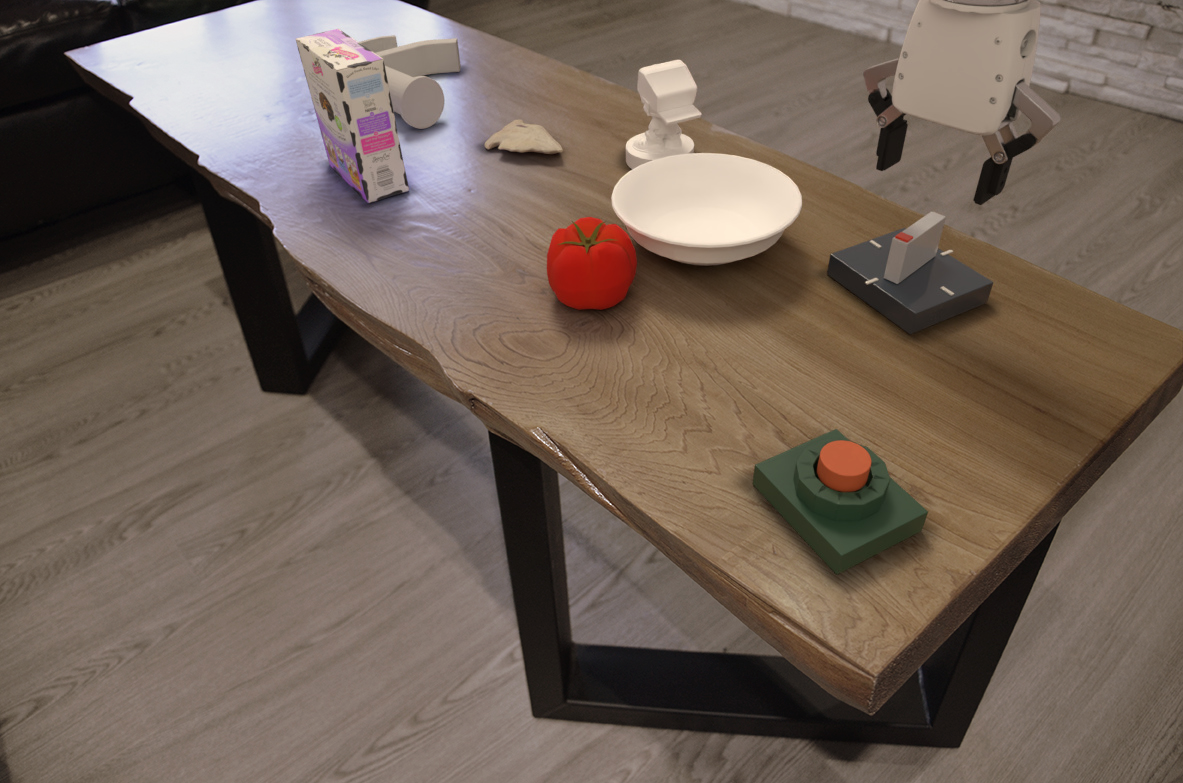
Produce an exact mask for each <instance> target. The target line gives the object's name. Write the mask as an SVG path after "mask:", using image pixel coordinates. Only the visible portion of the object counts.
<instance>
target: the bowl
mask: <svg viewBox="0 0 1183 783" xmlns="http://www.w3.org/2000/svg"><path fill="white" fill-rule="evenodd" d="M611 193H612V194H611V196H610V199H611V200H610V201H611V208H612V209H613V211H614V213H615V215H616V217H617V218H618V219H620V221H621V222H622V223H623V224H624V225H625V227H626V230H627V232H628V235H629V236H630V237H631V238H632V239H633V240H634V241H635V242H636V243H637V244H638V245H639V246H641V247H642V248H644V249H646V250H647V251H649V252H651V253H654V254H656V255H658V256H661V257H664V258H666V259H670V260H672V261H675V262H678V263H680V264H686V265H693V266H719V265H725V264H730V263H733V262H737V261H740V260H744V259H747V258H751V257H754V256H756V255H759V254H761V253H763V252H766V251H767V250H768V249H770V248H771V247H773V246H774V245H775V244H776V243H777V242H778V241H779V240H780V238H781V237H782V236H783V234H784V232H785V229H787V228H788V227H790V226H791V225H793V223H794V222H795V220H796V219H798V217H799V216H800V213H801V211H802V209H803V208H802V207H803V196H802V193H801V192H800V188H799V186H798V185H797V184H796V183H795V182H794V181H793V179H792V178H790V177H789V176H788V175H787V174H785V172H782V171H781V170H780V169H778V168H775V167H774V166H771V165H770V164H768V163H765V162H761V161H759V160H756V159H754V158H748V157H744V156H739V155H733V154H727V153H718V152H717V153H714V152H713V153H712V152H699V153H698V152H696V153H695V152H694V153H692V154H681V155H674V156H668V157H664V158H660V159H656V160H653V161H650V162H647V163H645V164H642V165H640V166H638V167H636V168H634V169H631V170H629V171H628V172H626V173H625V174H624V175H622V177H620V178H619V180H617V182H616V184H615V185H614V187H613V190H612V192H611Z"/></svg>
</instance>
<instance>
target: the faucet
mask: <svg viewBox="0 0 1183 783" xmlns="http://www.w3.org/2000/svg"><path fill="white" fill-rule="evenodd" d="M397 40H398V39H397V36H396V35H395V34H394V35H382V36H376V37H372V38H369V39H365V40H360V41H358V42H359V43H360V44H362V45H363V46H365V47H366V48H368V49H369V50H371V51H372V52H374V53H375V54H377V55H378V56H380V57H381V58H383V59H384V65H385V70H386V75H387V80H388V85H389V91H390V96H391V101H392V105H393V112H394V113H396V114H399V115H400V116H401V118H402V120H403V121H404V122H405V123H406V124H407V125H409V126H411V127H413V128H415V129H421V130H422V129H428V128H430V127H432V126H433V125H435V124H436V123H437V122H438V120H440V118H441V116H442V114H443V112H444V108H445V94H444V91H443V89H442V88H443V87H442V86H441V85H440V84H439V82H437V81H436V80H435V79H434V78H431V77H429V76H428V75H433V74H434V75H435V74H448V73H459V72H461V70H462V67H461V57H460V49H459V41H458V37H456V38H455V37H454V38H440V39H427V40H421V41H415V42H412V43H408V44H403V45H399V46H398V41H397Z"/></svg>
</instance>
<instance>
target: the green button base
mask: <svg viewBox="0 0 1183 783" xmlns="http://www.w3.org/2000/svg"><path fill="white" fill-rule="evenodd" d="M840 440H843V441H850V442H853V443H856V444H858V445H860V446H862V447H863V448H864V449H865V450H866V451H867V452H868V453H869V455H870V457H871V467H870V471H869V475H868V479H867V482H866V484H865V485H864V486H863V487H862V488H861V489H859V490H857V491H853V492H840V491H836V490H833V489H831V488H829V487H827V486H826V485H824V484H823V483H822V482H821V480H820V479H819V477H818V474H817V466H818V461H819V456H820V452H821V450H822V448H823V447H824V446H825V445H826V444H828V443H830V442H833V441H840ZM751 484H752V485H753V487H755V488H756V489H757V491H758V492H759V493H760V494H761V495H762V496H763V497H764V498H765V499H766V500H767V501H768V502H769V504H770V505H771V506H772V507H773V508H774V509H775V510H776V512H778V513H779V514H780V516H781V517H782V518H783V519H784V520H785V521H786V522H787V523H788V524H789V525H790V526H791V527H792V529H793V530H794V531H795V532H796V533H797V534H798V535H799V536H800V537H801V538H802V540H804V541H805V542H806V544H808V546H809V547H810V548H811V549H812V550H813V551H814V553H816V554H817V555H818V557H819V558H820V559H821V560H822V561H823V562H824V563H825V564H826V565H827V566H828V567H829V569H831V571H833V573H834V574H835V575H839V574H841V573H843V572H845V571H847V570H849V569H851V568H853V567H854V566H857V565H859V564H861V563H863V562H864V561H866V560H869V559H871V558H872V557H875V556H876V555H878V554H880V553H882V552H884V551H885V550H888V549H890V548H892V547H894V546H896V545H898V544H899V543H901V542H904V541H906V540H907V539H910V538H911V537H913V536H915V535H917V534H918V533H920V532H922V531H923V527H924V525H925V523H926V520H927V517H928V514H929V510H927V509H926V508H925V507H924V506H923V505H922V504H921V503H919V502H918V501H917V500H916V499H915V498H914V497H913V496H912V495H911V494H910V493H909V492H908V491H906V490H905V489H904V488H902V486H900V485H899V483H897V482H896V481H895V480H894V479H893V478H892V477H891V476H890V474H889V471H888V467H887V464H886V462H885V461H884V460H883V459H882V458H880V457H879V456H878V454H876V453H875V452H874V451H873V450H872V449H870V448H869V446H868V447H867V446H865V445H862V444H859V443H857V442H855V441H851V440H849V438H848V437H846V435H844V434H843V433H842V432H841V431H840V430H839V429H838V428H834V429H833V430H830V431H828V432H825V433H823V434H821V435H818V436H817V437H814V438H812V439H810V440H808V441H806V442H802V443H801V444H799V445H797V446H794V447H792V448H789V449H787V450H784V451H783V452H780V453H778V454H776V455H774V456H771V457H769V458H767V459H764V460H763V461H759V462H758V463H756V464H754V469H753V476H752V483H751Z"/></svg>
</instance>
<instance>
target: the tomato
mask: <svg viewBox="0 0 1183 783" xmlns="http://www.w3.org/2000/svg"><path fill="white" fill-rule="evenodd" d="M606 222H607V220H606V221H603V220H602V219H601V218H597V217H594V216H586V217H580V218H578V219H577V220H575V221H573V220H571V224H570V225H568V226H567V227H566V228H558V229H557V230H556V231H554V233H553V234H552V236H551V240H550V242H549V246H548V250H547V253H546V275H547V280H548V285H549V286H550V288H551V290H552V292H554V294H555V297H556V298H557V300H558V301H559V302H560V303H561V304H563V305H565V306H567V307H569V308H572V309H575V310H579V311H580V310H600V311H602V310H607V309H609V308H613V307H615V306H616V305H617V304H619V303H621V302H622V301H623V300H625V298H626V296H627V295H628V294H627V293H628V291H629V288H630V287H631V285H632V284H633V281H634V279H635V277H636V275H637V266H638V258H637V253H636V248H635V246H634V244H633V241H632V239H631V238H630V237H631V236H630V234H629V233H627V232H626V231H625V230H624V229H623V228H622V227H621V226H619V225H618V224H617V223H609V224H607V223H606Z"/></svg>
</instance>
